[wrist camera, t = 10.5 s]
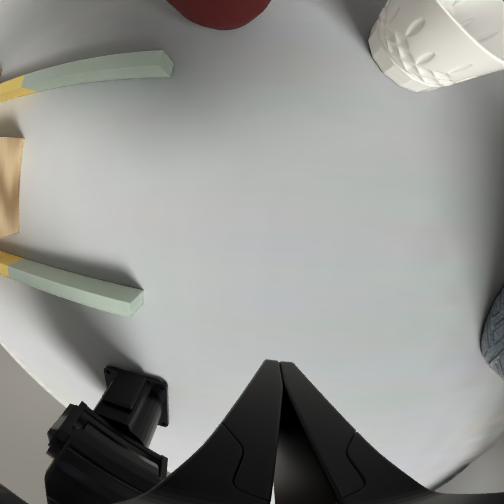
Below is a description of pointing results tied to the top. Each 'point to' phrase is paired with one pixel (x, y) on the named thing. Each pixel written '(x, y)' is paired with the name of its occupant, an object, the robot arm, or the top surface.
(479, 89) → the top surface
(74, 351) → the top surface
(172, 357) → the top surface
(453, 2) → the white cup
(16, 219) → the box
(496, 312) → the vase
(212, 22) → the mug
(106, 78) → the bay
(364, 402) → the top surface
